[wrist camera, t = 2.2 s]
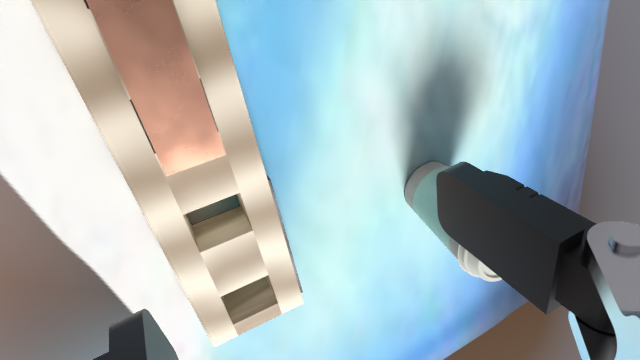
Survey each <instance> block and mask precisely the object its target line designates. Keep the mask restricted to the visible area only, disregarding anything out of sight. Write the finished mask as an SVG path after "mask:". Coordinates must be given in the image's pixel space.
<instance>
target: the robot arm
mask: <svg viewBox="0 0 640 360" xmlns="http://www.w3.org/2000/svg"><path fill="white" fill-rule="evenodd" d="M436 186H437V211H438V219H439V222H440V224H441V226H442V228H443V230H444V231H445V232H446V233H447V235H449V236H450V237H451V238H452V239H453V240H455V241H456V242H457V243H458V244H460V245H461V246H462V247H463V248H465V249H466V250H467V251H468V252H470V253H471V254H472V255H473V256H474V257H476V258H477V259H478V260H479V261H481V262H482V263H483V264H484V265H486V266H487V267H488V268H489V269H491V270H492V271H493V272H494V273H495V274H497V275H498V276H499V277H500V278H502V279H503V280H504V281H505V282H507V283H508V284H509V285H510V286H512V287H513V288H514V289H515V290H516V291H518V292H519V293H520V294H521V295H523V296H524V297H525V298H526V299H528V300H529V301H530V302H531V303H533V304H534V305H535V306H536V307H537V308H539V309H540V310H541V311H543V312H544V313H545V314H546V315H547V314H548V313H550V312H551V311H553V310H555V309H556V308H558V307H559V306H561V305H563V306H564V307H565V308H567V309H568V310H569V314H568V318H569V322H570V325H571V328H572V331H573V334H574V337H575V340H576V343H577V346H578V349H579V352H580V355H581V358H582V360H640V226H639V225H636V224H632V223H627V222H621V221H607V222H602V223H599V224H596V223H594V222H592V221H590V220H588V219H586V218H584V217H582V216H581V215H579V214H577V213H575V212H573V211H571V210H569V209H568V208H566V207H564V206H562V205H560V204H558V203H557V202H555V201H553V200H551V199H549V198H547V197H545V196H544V195H542V194H541V195H539V194H538V192H536V191H534V190H533V189H531V188H529V187H524V185H523V184H521V183H520V182H518V181H516V180H514V179H512V178H510V177H509V176H506V175H502V174H498V173H494V172H491V171H487V170H486V171H484V172H483V171H482V170H480V169H478V168H476V167H475V166H473V165H471V164H469V163H467V162H460V163H458V164H456V165H454V166H451V167H449V168H447V169H445V170H443V171H441V172H439V173H438V174H437V177H436ZM93 360H179V359H178V357H177V355H176V352H175V350H174V349H173V347H172V345H171V344H170V342H169V341H168V339H167V338H166V336H165V335H164V333H163V332H162V330H161V329H160V327H159V326H158V324H157V323H156V321H155V320H154V318H153V317H152V315H151V314H150V313H149V311H148V310H146V309H143V310H141V311H139V312H136V313H134V314H132V315H130V316H128V317H126V318H124V319H121V320H119V321H117V322H115V323H113V324H111V325H110V328H109V352H108V353H105V354H103V355H101V356H99V357H97V358H95V359H93Z"/></svg>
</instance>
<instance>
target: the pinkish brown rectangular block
mask: <svg viewBox="0 0 640 360" xmlns="http://www.w3.org/2000/svg"><path fill="white" fill-rule="evenodd" d="M86 1H87V3H88V6H89V8H90V10H91V12H92V14H93V17H94V19H95V21H96V23H97V25H98V28H99V30H100V32H101V34H102V36H103V38H104V41H105V43H106V45H107V47H108V49H109V52H110V54H111V56H112V58H113V60H114V62H115V65H116V67H117V69H118V71H119V73H120V76H121V78H122V80H123V82H124V84H125V87H126V89H127V91H128V93H129V95H130V97H131V100H132V102H133V104H134V106H135V108H136V111H137V113H138V115H139V117H140V119H141V121H142V124H143V126H144V128H145V130H146V132H147V135H148V137H149V139H150V141H151V143H152V145H153V148H154V150H155V152H156V154H157V156H158V159H159V161H160V163H161V165H162V167H163V170H164V172H165V174H166V176H169V175H172V174H174V173H177V172H180V171H183V170H186V169H188V168H191V167H194V166H197V165H199V164H202V163H205V162H208V161H210V160H213V159H216V158H219V157H222V156H224V155H226V154H225V151H224V148H223V145H222V142H221V139H220V136H219V133H218V131H217V128H216V125H215V122H214V119H213V116H212V113H211V110H210V108H209V105H208V102H207V99H206V96H205V93H204V90H203V87H202V84H201V82H200V79H199V76H198V73H197V70H196V67H195V64H194V61H193V59H192V56H191V53H190V50H189V47H188V44H187V41H186V38H185V36H184V33H183V30H182V27H181V24H180V21H179V18H178V15H177V12H176V10H175V7H174V4H173V1H172V0H86Z"/></svg>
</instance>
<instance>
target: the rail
mask: <svg viewBox="0 0 640 360" xmlns="http://www.w3.org/2000/svg"><path fill="white" fill-rule="evenodd" d="M172 1H173V4H174V7H175V10H176V12H177V15H178V18H179V21H180V24H181V27H182V30H183V33H184V36H185V38H186V41H187V44H188V47H189V50H190V53H191V56H192V59H193V61H194V64H195V67H196V70H197V73H198V76H199V79H200V82H201V84H202V87H203V90H204V93H205V96H206V99H207V102H208V105H209V108H210V110H211V113H212V116H213V119H214V122H215V125H216V128H217V131H218V133H219V136H220V139H221V142H222V145H223V148H224V151H225V154H226V155H224V156H222V157H219V158H216V159H213V160H210V161H208V162H205V163H202V164H199V165H197V166H194V167H191V168H188V169H186V170H183V171H180V172H177V173H174V174H172V175H169V176H166V174H165V172H164V170H163V167H162V165H161V163H160V161H159V159H158V156H157V154H156V152H155V150H154V148H153V145H152V143H151V141H150V139H149V137H148V135H147V132H146V130H145V128H144V126H143V124H142V121H141V119H140V117H139V115H138V113H137V111H136V108H135V106H134V104H133V102H132V100H131V97H130V95H129V93H128V91H127V89H126V87H125V84H124V82H123V80H122V78H121V76H120V73H119V71H118V69H117V67H116V65H115V62H114V60H113V58H112V56H111V54H110V52H109V49H108V47H107V45H106V43H105V41H104V38H103V36H102V34H101V32H100V30H99V28H98V25H97V23H96V21H95V19H94V17H93V14H92V12H91V10H90V8H89V6H88V3H87V1H86V0H31V2H32V4H33V6H34V8H35V10H36V12H37V13H38V15H39V17H40V19H41V21H42V23H43V25H44V27H45V29H46V30H47V32H48V34H49V36H50V38H51V40H52V42H53V44H54V46H55V48H56V49H57V51H58V53H59V55H60V57H61V59H62V61H63V63H64V65H65V66H66V68H67V70H68V72H69V74H70V76H71V78H72V80H73V82H74V83H75V85H76V87H77V89H78V91H79V93H80V95H81V97H82V99H83V100H84V102H85V104H86V106H87V108H88V110H89V112H90V114H91V116H92V117H93V119H94V121H95V123H96V125H97V127H98V129H99V131H100V133H101V134H102V136H103V138H104V140H105V142H106V144H107V146H108V148H109V150H110V152H111V153H112V155H113V157H114V159H115V161H116V163H117V165H118V167H119V169H120V170H121V172H122V174H123V176H124V178H125V180H126V182H127V184H128V186H129V187H130V189H131V191H132V193H133V195H134V197H135V199H136V201H137V203H138V204H139V206H140V208H141V210H142V212H143V214H144V216H145V218H146V220H147V221H148V223H149V225H150V227H151V229H152V231H153V233H154V235H155V237H156V239H157V240H158V242H159V244H160V246H161V248H162V250H163V252H164V254H165V256H166V257H167V259H168V261H169V263H170V265H171V267H172V269H173V271H174V273H175V274H176V276H177V278H178V280H179V282H180V284H181V286H182V288H183V290H184V291H185V293H186V295H187V297H188V299H189V301H190V303H191V305H192V307H193V308H194V310H195V312H196V314H197V316H198V318H199V320H200V322H201V324H202V325H203V327H204V329H205V331H206V333H207V335H208V337H209V339H210V341H211V343H212V344H213V346H214V347H216V346H218V345H220V344H222V343H224V342H226V341H228V340H230V339H232V338H234V337H236V336H238V335H240V334H242V333H244V332H246V331H248V330H251V329H253V328H255V327H257V326H259V325H261V324H263V323H265V322H267V321H269V320H271V319H273V318H275V317H277V316H279V315H281V314H283V313H285V312H287V311H289V310H291V309H293V308H295V307H298V306H300V305H302V304H304V302H303V299H302V295H301V293H302V292H303V291H302V288H301V284H300V281H299V277H298V274H297V270H296V267H295V264H294V260H293V257H292V253H291V250H290V246H289V243H288V239H287V236H286V232H285V229H284V225H283V222H282V218H281V215H280V211H279V208H278V204H277V201H276V197H275V194H274V191H273V187H272V184H271V180H270V178H269V177H268V176H267V174H266V172H265V169H264V165H263V162H262V159H261V155H260V152H259V148H258V145H257V141H256V138H255V135H254V131H253V128H252V124H251V121H250V117H249V114H248V111H247V107H246V104H245V100H244V97H243V93H242V90H241V87H240V83H239V80H238V76H237V73H236V70H235V66H234V63H233V59H232V56H231V52H230V49H229V46H228V42H227V39H226V35H225V32H224V28H223V25H222V22H221V18H220V15H219V11H218V8H217V4H216V1H215V0H172ZM235 194H236V195H237V198H238V201H239V204H240V206H239V207H236V208H234V209H231V210H229V211H226V212H224V213H221V214H219V215H216V216H214V217H211V218H209V219H206V220H204V221H201V222H199V223H196V224H194V225H191V223H190V221H189V218H188V216H187V213H189V212H192V211H194V210H197V209H199V208H202V207H205V206H207V205H210V204H212V203H215V202H217V201H220V200H223V199H225V198H228V197H230V196H233V195H235Z"/></svg>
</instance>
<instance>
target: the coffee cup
mask: <svg viewBox="0 0 640 360" xmlns="http://www.w3.org/2000/svg"><path fill="white" fill-rule="evenodd" d="M447 168H449V166H447V165H445V164H442V163H440V162H436V161H433V162H428V163H426V164H423V165H422V166H420V167H419V168H418V169H416V170H415V171H414V173H413V174H412V175H411V176H410V178H409V180H408V182H407V184H406V187H405V199H406V202H407V203H408V204H409V206H410V207H411V208H412V209H413V210H414V211H415V212H416V214H417V215H418V216H419V217H420V218H421V219H422V220H423V221H424V223H425V224H426V225H427V226H428V227H429V228H430V229H431V230H432V231H433V233H434V234H435V235H436V236H437V237H438V238H439V239H440V240H441V241H442V243H443V244H444V245H445V246H446V247H447V248H448V249H449V250H450V252H451V253H452V254H453V255H454V256H455V257H456V258H457V259H458V262H459V265H460V267H461V268H462V269H463V270H464V271H466V272H468V273H469V274H471V275H472V276H475V277H480V278H482V279H484V280H486V281H499V280H502V278H500V277H499V276H498V275H497V274H495V273H494V272H493V271H492V270H491V269H489V268H488V267H487V266H486V265H484V264H483V263H482V262H481V261H479V260H478V259H477V258H476V257H474V256H473V255H472V254H471V253H470V252H468V251H467V250H466V249H465V248H463V247H462V246H461V245H460V244H458V243H457V242H456V241H455V240H453V239H452V238H451V237H450V236H449V235H447V233H446V232H445V231H444V230H443V228H442V226H441V224H440V222H439V219H438V211H437V186H436V177H437V174H438V173H439V172H441V171H443V170H445V169H447Z"/></svg>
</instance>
